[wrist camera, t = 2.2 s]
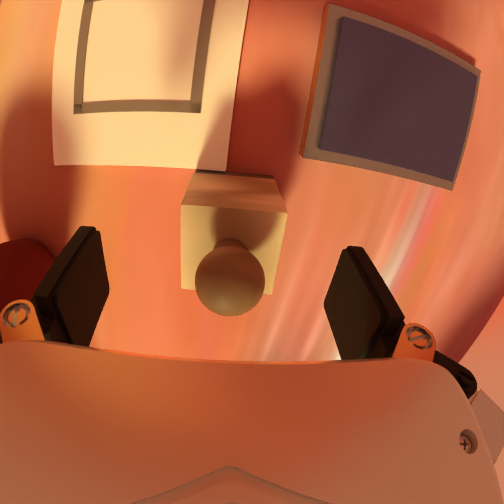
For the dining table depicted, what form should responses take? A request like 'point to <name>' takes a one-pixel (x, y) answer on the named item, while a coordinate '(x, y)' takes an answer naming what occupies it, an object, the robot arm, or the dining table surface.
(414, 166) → the ink pad
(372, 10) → the dining table surface
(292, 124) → the dining table surface
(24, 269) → the mug
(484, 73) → the dining table surface
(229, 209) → the stamp
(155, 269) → the dining table surface
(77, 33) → the card
